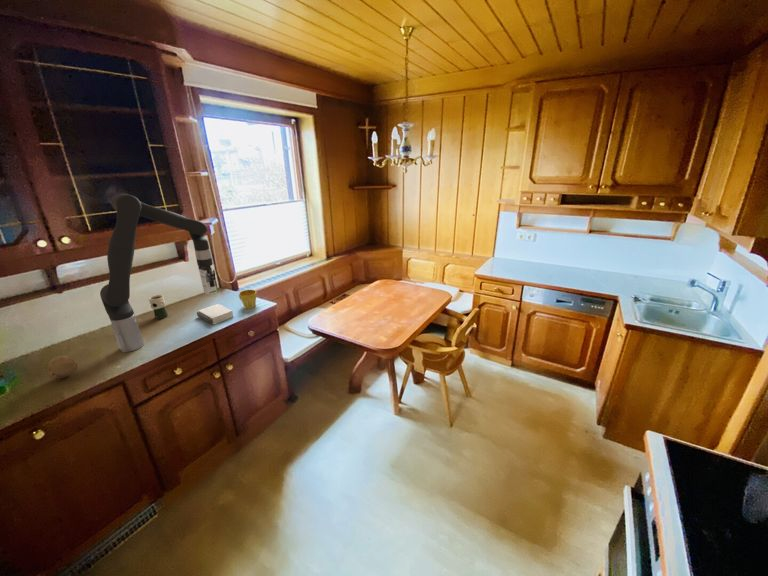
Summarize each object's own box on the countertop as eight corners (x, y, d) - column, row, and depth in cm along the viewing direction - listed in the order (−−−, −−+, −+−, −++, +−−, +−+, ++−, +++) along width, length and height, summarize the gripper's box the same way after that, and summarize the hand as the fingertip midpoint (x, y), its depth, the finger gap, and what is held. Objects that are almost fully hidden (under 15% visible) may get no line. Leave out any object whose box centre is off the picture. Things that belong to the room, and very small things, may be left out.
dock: (211, 325, 179) (210, 319, 177) (197, 317, 187) (196, 311, 186) (233, 316, 188) (232, 310, 187) (219, 309, 197) (218, 303, 196)
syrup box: (208, 295, 178) (203, 271, 173) (203, 292, 182) (198, 268, 176) (218, 292, 183) (214, 268, 177) (213, 289, 186) (208, 266, 180)
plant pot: (248, 311, 195) (245, 297, 191) (237, 307, 200) (235, 293, 196) (261, 305, 203) (259, 291, 199) (251, 301, 208) (249, 288, 204)
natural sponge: (86, 369, 140) (78, 350, 137) (71, 382, 132) (62, 362, 128) (63, 370, 139) (55, 351, 135) (46, 384, 131) (37, 364, 127)
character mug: (149, 317, 186) (143, 297, 181) (161, 312, 192) (155, 293, 187) (162, 321, 182) (156, 301, 177) (173, 316, 188) (168, 296, 183)
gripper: (190, 256, 175) (196, 284, 181) (203, 261, 167) (209, 290, 174) (204, 253, 181) (210, 280, 187) (217, 258, 173) (222, 286, 179)
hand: (209, 285), depth 180 cm, fingers closed on syrup box, 6 cm apart
